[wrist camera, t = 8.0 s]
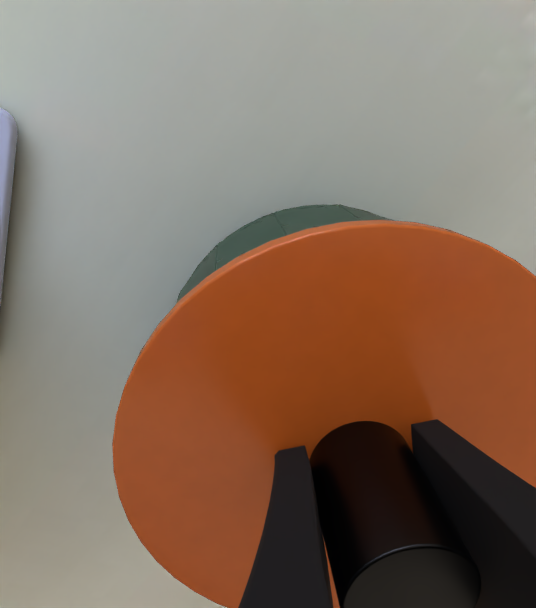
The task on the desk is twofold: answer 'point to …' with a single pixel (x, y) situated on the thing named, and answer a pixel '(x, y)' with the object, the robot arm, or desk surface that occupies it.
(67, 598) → the desk surface
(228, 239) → the tin
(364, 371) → the lid
